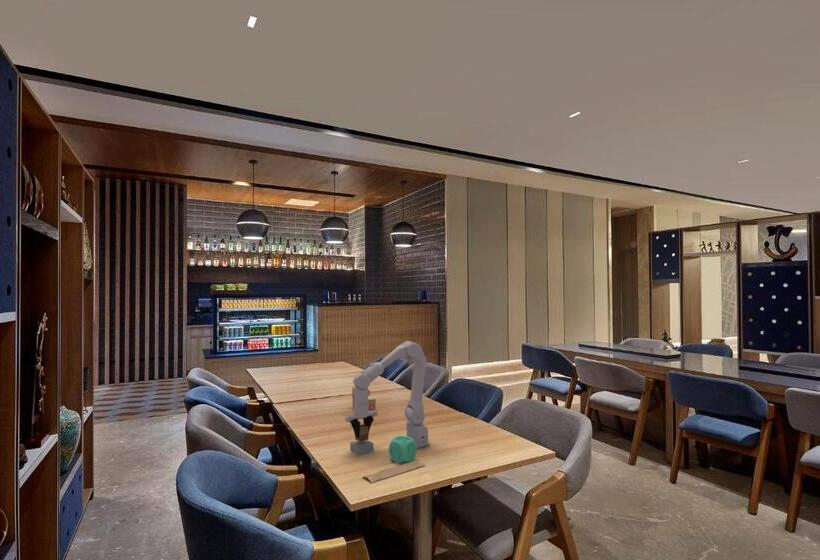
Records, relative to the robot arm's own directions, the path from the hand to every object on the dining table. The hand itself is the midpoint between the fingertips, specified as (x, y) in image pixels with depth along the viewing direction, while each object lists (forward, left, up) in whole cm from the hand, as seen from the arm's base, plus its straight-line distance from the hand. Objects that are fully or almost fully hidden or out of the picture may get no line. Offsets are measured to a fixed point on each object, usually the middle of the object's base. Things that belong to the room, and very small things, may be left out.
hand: (361, 436), depth 177 cm
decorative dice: (-19, -7, -6) cm, 21 cm away
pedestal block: (0, 0, -6) cm, 6 cm away
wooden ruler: (-26, +2, -7) cm, 27 cm away
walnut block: (0, 0, -1) cm, 1 cm away
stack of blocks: (+51, -32, -6) cm, 60 cm away
